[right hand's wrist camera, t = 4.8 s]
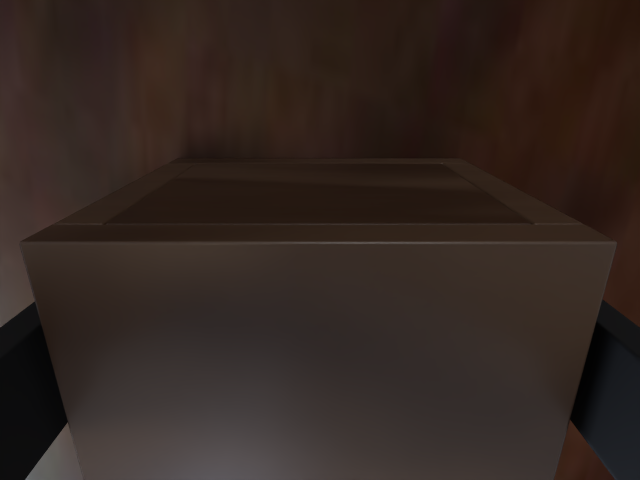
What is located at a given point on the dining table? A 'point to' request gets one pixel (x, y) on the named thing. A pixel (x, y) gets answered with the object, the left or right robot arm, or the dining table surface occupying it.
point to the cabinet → (318, 322)
